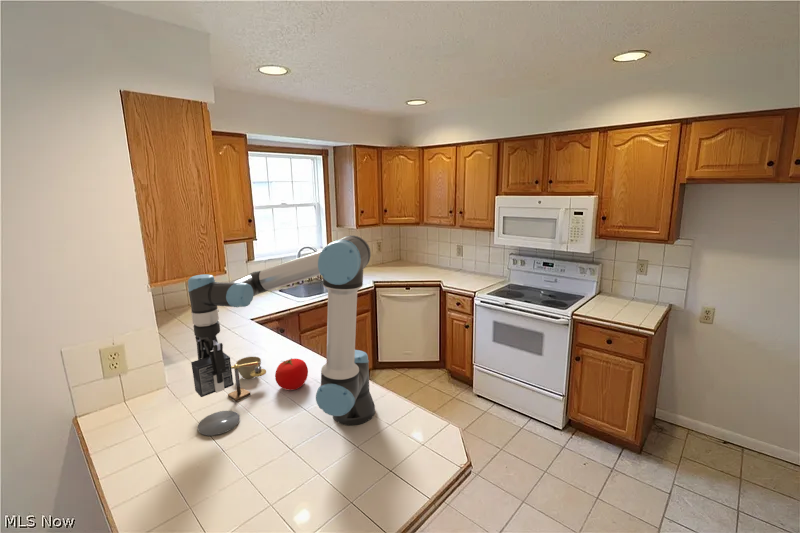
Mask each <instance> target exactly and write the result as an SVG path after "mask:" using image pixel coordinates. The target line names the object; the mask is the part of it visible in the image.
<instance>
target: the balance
mask: <svg viewBox="0 0 800 533" xmlns="http://www.w3.org/2000/svg"><path fill="white" fill-rule="evenodd" d="M256 364H257V367H255V368H254V369H255V370H253V371H252V372H251V373H250V375H251V376H252V377H255V378H259V377H262V376H265V375H266V373H267V370H266V369H264V368H262V366H261V365H260V366H258V362H252V363H247V364H241V365H238V364H236V363H235V364H234V365H231V370H233V369H234V370H233V371H234V378H235V387H236V390H233V391H232V392H229V393H227V398H229V399H230V400H232V401H234V402H235V403H237V402H239V401H241V400H243V399H245V398H248V397H250V396H251V391H249V390H247V389H245V388H244V387H241V380H240V373H239V370H238V368H239V367H245V366H250V365H256Z"/></svg>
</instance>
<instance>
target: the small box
mask: <svg viewBox="0 0 800 533" xmlns="http://www.w3.org/2000/svg"><path fill="white" fill-rule="evenodd" d="M223 355H224V361H225V367H226V372H224V373H223V381H224V389H228V388H230V387H232V386H234V378H233V372H232V370H233V369H231V366H232V363H231V357H230V356H229V355H227V354H226V353H225V352H224V351H223ZM190 364H191V368H192V369H191V370H192V377H193V384H194V391H195V392H196V393H197V394H198V396H199V397H200V398H203V397H206V396H209V395H211V394H215V393H216V392H215V385H214V377H213V375H212V374H214V370H213V366H212V362H211V359H210V357H207V358H203V359H200V360H198V359H196V360H194V361H191V363H190Z"/></svg>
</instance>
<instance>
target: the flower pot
mask: <svg viewBox="0 0 800 533" xmlns="http://www.w3.org/2000/svg"><path fill="white" fill-rule="evenodd" d="M261 361H262V359H261V358H260V357H259V356H246V357H242V358H240V359H239V360H237V361H236V362H235V364H238V365H241V364H247V363H252V362H258V366H261V365H262V364H261V363H262V362H261ZM255 367H257V364H256V365H250V366H245V367H239V368H238V370H239V376H241V377H242V378H243V379H244V380H248V381H249V380H253V379H254V378H256V377H252V376H251V375H250V373H251V372H252V371H253V370H255V369H254V368H255Z"/></svg>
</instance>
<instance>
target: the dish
mask: <svg viewBox="0 0 800 533" xmlns="http://www.w3.org/2000/svg"><path fill="white" fill-rule="evenodd" d="M240 419H241V417H240V415H239V413H238V412H236V411H234V410H222V411H220V410H219V411H217V412H214V413H211V414H209V415H207V416H205V417H204V418H203V419H201V420H200V421H199V422H198V424H197V431H198V433H199V434H201V435H202V436H211V437H212V436H218V435H221V434H224V433H227V432H229V431H230V430H232V429H234V428H235V427H236V426H237V425H238V424H239V422H240Z"/></svg>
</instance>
